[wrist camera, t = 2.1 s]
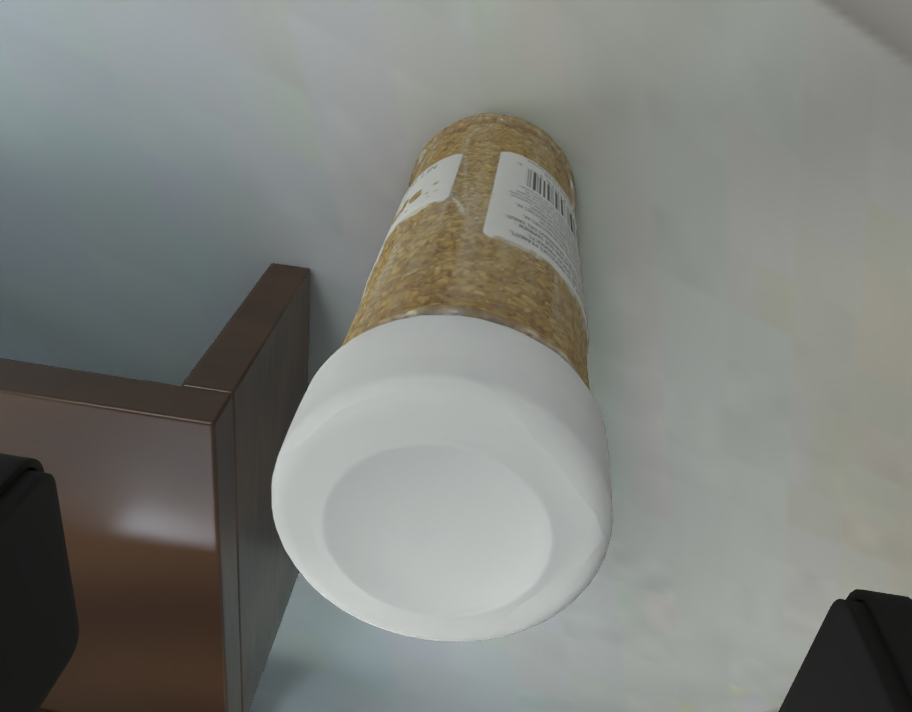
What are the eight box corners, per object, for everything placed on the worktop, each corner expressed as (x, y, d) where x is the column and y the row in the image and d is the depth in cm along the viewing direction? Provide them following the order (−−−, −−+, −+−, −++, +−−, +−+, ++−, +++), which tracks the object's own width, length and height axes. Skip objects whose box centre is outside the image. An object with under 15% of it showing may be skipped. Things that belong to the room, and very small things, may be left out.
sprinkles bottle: (391, 131, 21) (206, 417, 10) (561, 92, 20) (583, 356, 9) (435, 285, 23) (326, 670, 12) (591, 255, 22) (640, 642, 11)
